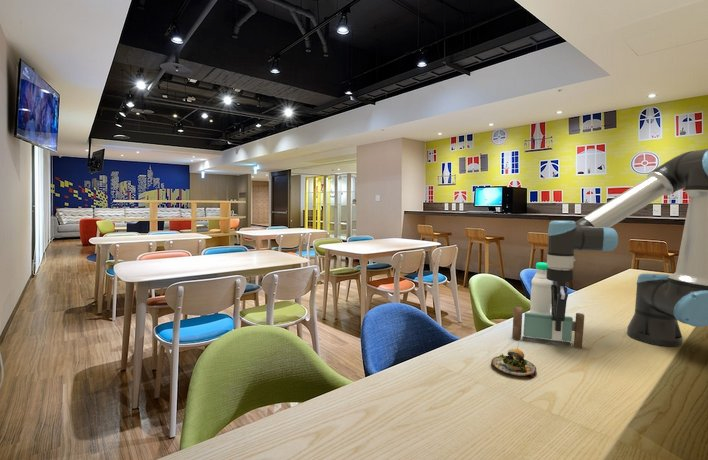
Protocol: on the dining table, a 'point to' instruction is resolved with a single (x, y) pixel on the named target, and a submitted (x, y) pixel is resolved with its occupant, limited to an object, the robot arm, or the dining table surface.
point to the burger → (514, 364)
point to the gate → (545, 326)
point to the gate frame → (578, 339)
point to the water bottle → (541, 291)
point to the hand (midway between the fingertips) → (556, 339)
